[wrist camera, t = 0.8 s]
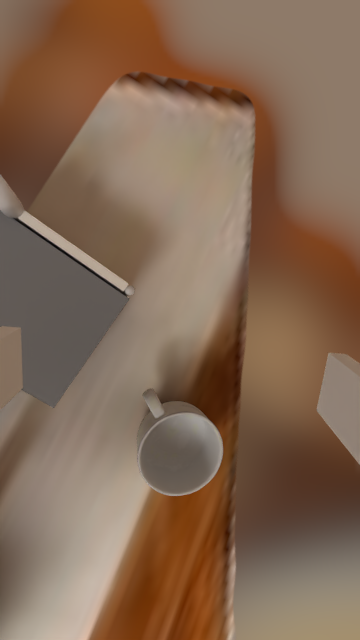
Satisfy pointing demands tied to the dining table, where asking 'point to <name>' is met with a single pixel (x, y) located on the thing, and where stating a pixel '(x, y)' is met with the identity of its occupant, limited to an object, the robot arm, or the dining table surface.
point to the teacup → (177, 447)
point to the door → (57, 239)
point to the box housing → (51, 309)
